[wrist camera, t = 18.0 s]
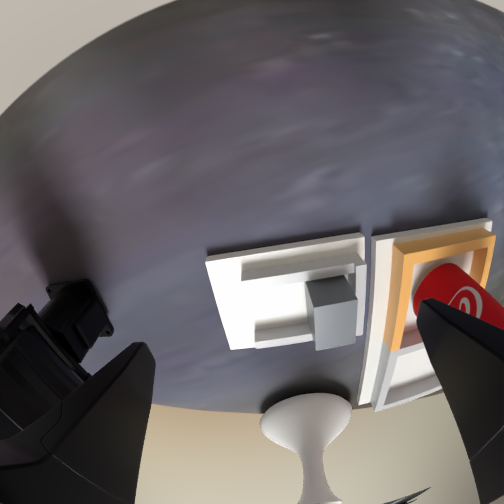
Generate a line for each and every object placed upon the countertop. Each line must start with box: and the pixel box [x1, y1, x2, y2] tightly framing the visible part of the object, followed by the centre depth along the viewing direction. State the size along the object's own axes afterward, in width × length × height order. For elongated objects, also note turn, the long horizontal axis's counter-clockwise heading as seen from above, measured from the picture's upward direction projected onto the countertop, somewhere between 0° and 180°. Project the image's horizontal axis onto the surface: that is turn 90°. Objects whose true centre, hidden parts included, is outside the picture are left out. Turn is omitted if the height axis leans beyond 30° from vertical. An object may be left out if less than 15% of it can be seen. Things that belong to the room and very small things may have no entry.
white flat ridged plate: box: [205, 232, 367, 350], centre depth 21 cm, size 12×9×3 cm
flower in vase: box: [260, 393, 352, 504], centre depth 19 cm, size 13×11×25 cm
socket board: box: [357, 218, 496, 412], centre depth 23 cm, size 14×22×3 cm, turn 10°
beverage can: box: [413, 263, 504, 330], centre depth 16 cm, size 6×6×12 cm
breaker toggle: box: [304, 275, 358, 351], centre depth 20 cm, size 3×4×4 cm
